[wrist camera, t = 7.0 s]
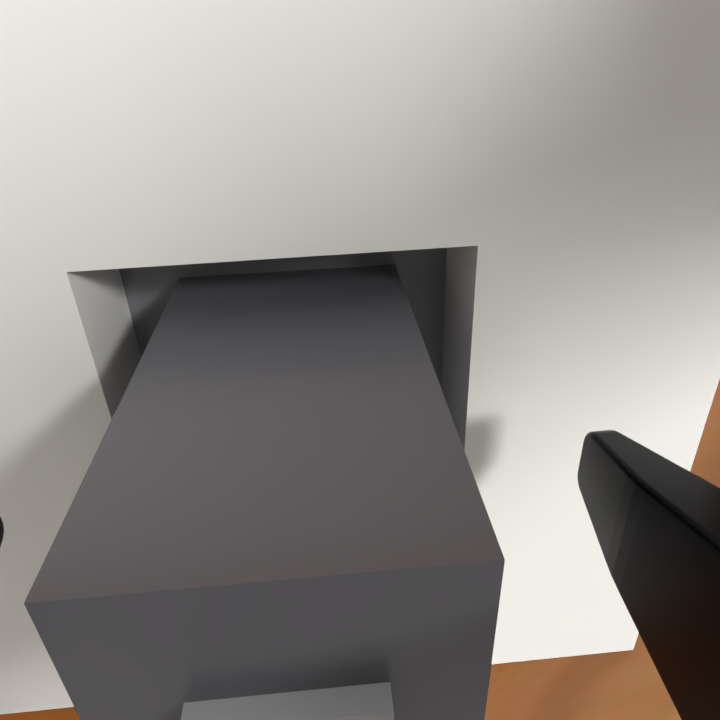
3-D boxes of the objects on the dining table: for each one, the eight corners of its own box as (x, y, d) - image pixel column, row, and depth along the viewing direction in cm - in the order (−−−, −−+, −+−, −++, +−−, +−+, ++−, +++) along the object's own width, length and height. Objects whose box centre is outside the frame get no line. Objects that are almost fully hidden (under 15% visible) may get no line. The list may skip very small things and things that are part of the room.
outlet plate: (728, -109, 9) (889, -156, 7) (583, 553, 17) (633, 649, 14) (-268, -76, 9) (-516, -116, 6) (46, 602, 16) (-3, 714, 14)
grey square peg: (395, 264, 11) (515, 589, 5) (396, 434, 13) (481, 821, 7) (178, 277, 11) (7, 636, 5) (213, 449, 13) (128, 861, 7)
